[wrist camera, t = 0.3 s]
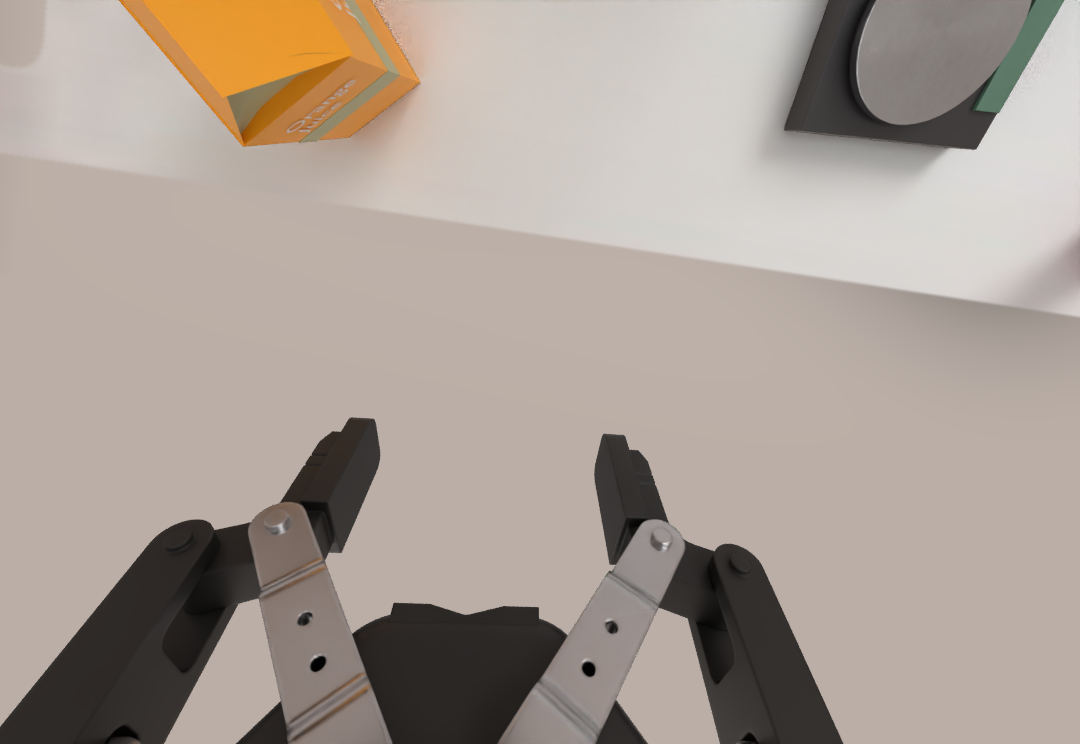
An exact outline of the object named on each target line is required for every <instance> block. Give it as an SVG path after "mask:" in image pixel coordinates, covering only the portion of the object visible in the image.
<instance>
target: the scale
mask: <svg viewBox="0 0 1080 744" xmlns="http://www.w3.org/2000/svg"><path fill="white" fill-rule="evenodd" d="M869 2H870V0H829V3H828V5H827V8H826V11H825V14H824V17H823V20H822V23H821V25H820V28H819V31H818V34H817V37H816V40H815V43H814V45H813V48H812V51H811V54H810V57H809V60H808V63H807V65H806V68H805V71H804V74H803V77H802V80H801V83H800V85H799V88H798V91H797V94H796V97H795V100H794V103H793V105H792V108H791V111H790V114H789V117H788V120H787V123H786V125H785V128H784V130H786V131H795V132H805V133H814V134H823V135H832V136H842V137H851V138H860V139H869V140H879V141H888V142H897V143H906V144H916V145H925V146H934V147H943V148H955V149H971V150H975V149H977V147H978V145H979V144H980V142H981V140H982V138H983V137H984V135H985V133H986V132H987V130H988V128H989V126H990V125H991V123H992V121H993V119H994V118H995V116H996V114H997V113H999V112H1000V110H1001V108H1002V107H1003V105H1004V103H1005V102H1006V100H1007V98H1008V96H1009V95H1010V93H1011V91H1012V90H1013V88H1014V86H1015V84H1016V83H1017V81H1018V79H1019V77H1020V76H1021V74H1022V72H1023V71H1024V69H1025V67H1026V65H1027V64H1028V62H1029V60H1030V59H1031V57H1032V55H1033V53H1034V52H1035V50H1036V48H1037V46H1038V45H1039V43H1040V41H1041V40H1042V38H1043V36H1044V34H1045V33H1046V31H1047V29H1048V28H1049V26H1050V24H1051V22H1052V21H1053V19H1054V17H1055V15H1056V14H1057V12H1058V10H1059V9H1060V7H1061V5H1062V3H1063V2H1064V0H1032V2H1031V5H1030V8H1029V12H1028V14H1027V17H1026V19H1025V22H1024V24H1023V27H1022V29H1021V31H1020V33H1019V35H1018V37H1017V39H1016V41H1015V42H1014V44H1013V46H1012V47H1011V49H1010V50H1009V52H1008V54H1007V55H1006V56H1005V58H1004V59H1003V61H1002V62H1001V64H1000V65H999V66H998V67H997V69H996V70H995V71H994V72H993V73H992V75H991V76H990V77H989V78H988V79H987V80H986V81H985V82H984V83H983V84H982V85H981V86H980V87H979V88H978V89H977V90H976V91H975V92H974V93H973V94H972V95H970V96H969V97H968V98H967V99H965V100H964V101H963V102H961V103H960V104H959V105H957V106H956V107H954V108H952V109H951V110H949V111H948V112H946V113H944V114H942V115H940V116H938V117H935V118H933V119H930V120H928V121H925V122H921V123H917V124H909V125H890V124H885V123H881V122H879V121H876V120H874V119H873V118H871V117H870V116H868V115H867V114H866V113H865V112H864V111H863V110H862V109H861V108H860V106H859V105H858V103H857V101H856V99H855V97H854V94H853V91H852V87H851V82H850V57H851V50H852V46H853V41H854V37H855V34H856V31H857V28H858V25H859V23H860V20H861V18H862V16H863V13H864V11H865V9H866V7H867V5H868V3H869Z"/></svg>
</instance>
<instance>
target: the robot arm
mask: <svg viewBox="0 0 1080 744" xmlns="http://www.w3.org/2000/svg"><path fill="white" fill-rule="evenodd" d="M379 461H380V447H379V441H378V434H377V428H376V422H375V420H374V419H368V418H350V419H349V420H348V421H347V423H346V425H345V426H344V428H343V430H342V431H341V432H334V431H333V432H331V433H330V434H329V435H327V436H326V437H325V438H324V439H322V440H321V441H320V442H319V443H318V445H317V446H316V448H315V449H314V451H313V453H312V456H310V457H309V459H308V460H307V462H306V465H305V466H303V468H302V469H301V471H300V473H299V474H298V476H297V477H296V479H295V480H294V482H293V483H292V485H291V486H290V488H289V490H288V491H287V493H286V494H285V496H284V497H283V499H282V500H281V502H280V503H278V504H276V505H272V506H270V507H268V508H266V509H265V510H263V511H262V512H260V513H259V514H258V515H257V516H256V517H255V518H254V519H253V520H252V522H250V523H246V524H242V525H237V526H232V527H228V528H223V529H219V530H214V528H213V527H212V525H211V524H210V523H209V522H207V521H204V520H188V521H184V522H181V523H178V524H176V525H173V526H171V527H169V528H168V529H166V530H164V531H163V532H161V533H160V534H159V535H158V536H156V537H155V538H154V539H153V540H152V541H151V542H150V544H149V545H148V546H147V547H146V548H145V550H144V551H143V552H142V553H141V555H140V556H139V557H138V558H137V559H136V561H135V562H134V563H133V564H132V566H131V567H130V568H129V569H128V571H127V572H126V573H125V574H124V575H123V577H122V578H121V579H120V580H119V582H118V583H117V584H116V585H115V587H114V588H113V589H112V590H111V591H110V593H109V594H108V595H107V596H106V598H105V599H104V600H103V601H102V603H101V604H100V605H99V606H98V607H97V609H96V610H95V611H94V612H93V614H92V615H91V616H90V617H89V619H88V620H87V621H86V622H85V623H84V625H83V626H82V627H81V628H80V629H79V631H78V632H77V633H76V635H75V636H74V637H73V638H72V639H71V641H70V642H69V643H68V644H67V645H66V647H65V648H64V649H63V650H62V652H61V653H60V654H59V655H58V657H57V658H56V659H55V660H54V661H53V663H52V664H51V665H50V666H49V668H48V669H47V670H46V671H45V672H44V674H43V675H42V676H41V677H40V679H39V680H38V681H37V682H36V683H35V685H34V686H33V687H32V688H31V690H30V691H29V692H28V693H27V695H26V696H25V697H24V698H23V699H22V701H21V702H20V703H19V704H18V706H17V707H16V708H15V709H14V711H13V712H12V713H11V714H10V715H9V717H8V718H7V719H6V720H5V722H4V723H3V724H2V725H1V727H0V744H164V742H165V741H166V738H167V737H168V735H169V733H170V731H171V729H172V727H173V726H174V724H175V722H176V720H177V718H178V716H179V714H180V712H181V711H182V709H183V707H184V705H185V703H186V701H187V699H188V697H189V696H190V694H191V692H192V690H193V688H194V686H195V684H196V682H197V681H198V678H199V677H200V675H201V673H202V671H203V669H204V667H205V665H206V664H207V662H208V660H209V658H210V656H211V654H212V652H213V651H214V648H215V647H216V645H217V643H218V641H219V639H220V637H221V636H222V634H223V632H224V630H225V628H226V626H227V624H228V622H229V621H230V619H231V617H232V615H233V613H234V611H235V609H236V607H237V606H238V604H239V603H242V602H246V601H250V600H254V599H257V598H259V602H260V607H261V612H262V616H263V621H264V625H265V630H266V634H267V639H268V644H269V648H270V652H271V658H272V662H273V667H274V671H275V676H276V681H277V685H278V690H279V694H280V699H281V701H280V702H279V703H278V704H277V705H276V706H275V707H274V708H273V709H272V710H271V711H270V712H269V713H268V714H267V715H266V716H265V717H264V718H262V720H261V721H259V722H258V723H257V724H256V725H255V726H254V727H253V728H252V729H251V730H250V731H249V732H248V733H247V734H246V735H245V736H244V737H243V738H241V740H239V742H237V743H236V744H648V743H647V742H646V741H645V739H644V738H643V736H642V735H641V734H640V732H639V731H638V730H637V728H636V727H635V725H634V724H633V723H632V721H631V720H630V718H629V717H628V716H627V714H626V713H625V712H624V710H623V709H622V707H621V706H620V705H619V703H618V702H617V701H616V698H617V696H618V694H619V691H620V689H621V687H622V685H623V683H624V681H625V679H626V676H627V674H628V672H629V670H630V668H631V666H632V663H633V661H634V659H635V657H636V655H637V653H638V651H639V649H640V646H641V644H642V642H643V640H644V638H645V636H646V634H647V631H648V629H649V627H650V625H651V623H652V621H653V618H654V616H655V614H656V612H657V610H658V608H662V609H664V610H667V611H670V612H672V613H675V614H678V615H680V616H683V617H685V618H688V621H689V625H690V629H691V633H692V637H693V640H694V644H695V648H696V652H697V656H698V659H699V664H700V668H701V671H702V675H703V679H704V683H705V687H706V690H707V695H708V699H709V702H710V706H711V710H712V714H713V718H714V722H715V725H716V729H717V733H718V737H719V741H720V744H843V742H842V740H841V738H840V735H839V733H838V731H837V729H836V727H835V724H834V722H833V720H832V718H831V716H830V713H829V711H828V709H827V707H826V705H825V702H824V700H823V698H822V696H821V694H820V692H819V689H818V687H817V685H816V683H815V680H814V678H813V676H812V674H811V672H810V670H809V667H808V665H807V663H806V661H805V659H804V656H803V654H802V652H801V650H800V648H799V645H798V643H797V641H796V639H795V637H794V634H793V633H792V630H791V628H790V626H789V623H788V621H787V619H786V617H785V615H784V613H783V611H782V608H781V606H780V604H779V602H778V599H777V597H776V595H775V593H774V591H773V588H772V586H771V584H770V582H769V580H768V577H767V575H766V573H765V571H764V569H763V567H762V565H761V563H760V562H759V560H758V559H757V558H756V557H755V556H754V555H753V554H752V553H750V552H749V551H748V550H746V549H744V548H742V547H740V546H737V545H734V544H723V545H720V546H719V547H718V548H717V549H716V550H715V551H711V550H709V549H706V548H703V547H700V546H697V545H694V544H692V543H689V542H687V541H686V540H684V539H683V537H682V535H681V534H680V532H679V531H677V529H676V528H675V527H673V526H672V525H670V524H669V522H668V520H667V517H666V514H665V511H664V508H663V505H662V502H661V499H660V496H659V493H658V490H657V487H656V486H655V482H654V479H653V476H652V475H651V474H652V473H651V470H650V467H649V464H648V461H647V460H646V459H645V458H644V457H643V455H642V454H641V453H640V452H639V451H638V450H629V447H628V444H627V441H626V438H625V436H624V435H613V434H603V436H602V439H601V443H600V447H599V451H598V455H597V459H596V463H595V473H594V476H595V485H596V490H597V496H598V501H599V507H600V513H601V518H602V524H603V529H604V535H605V541H606V547H607V551H608V557H609V563H610V565H616V566H615V567H614V569H613V570H612V571H609V572H608V573H607V574H606V576H605V578H604V579H603V580H602V582H601V584H600V585H599V587H598V588H597V590H596V592H595V594H594V595H593V596H592V598H591V600H590V601H589V603H588V604H587V606H586V608H585V609H584V611H583V612H582V614H581V616H580V617H579V619H578V620H577V622H576V624H575V625H574V627H573V628H572V630H571V631H570V633H569V635H567V634H566V633H564V632H563V631H562V630H561V629H559V628H558V627H556V626H555V625H553V624H551V623H549V622H547V621H544V620H541V619H539V608H538V607H510V606H509V607H508V606H503V607H499V608H495V609H490V610H486V611H482V612H478V613H474V614H470V615H463V614H460V613H456V612H453V611H450V610H447V609H444V608H441V607H438V606H434V605H432V604H413V603H394V604H393V608H392V611H391V615H388V616H384V617H381V618H379V619H376V620H374V621H372V622H370V623H368V624H366V625H364V626H363V627H361V628H360V629H358V630H356V631H355V632H354V633H353V634H351V631H350V628H349V625H348V623H347V620H346V617H345V615H344V612H343V609H342V606H341V604H340V601H339V598H338V595H337V593H336V590H335V587H334V584H333V582H332V579H331V576H330V574H329V571H328V568H327V566H326V563H325V559H326V557H327V555H328V553H330V552H331V553H341V552H342V550H343V548H344V546H345V543H346V541H347V539H348V536H349V534H350V532H351V529H352V527H353V525H354V523H355V520H356V518H357V516H358V513H359V511H360V509H361V506H362V504H363V502H364V499H365V497H366V495H367V492H368V490H369V487H370V485H371V483H372V481H373V478H374V476H375V474H376V471H377V469H378V466H379Z"/></svg>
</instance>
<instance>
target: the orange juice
mask: <svg viewBox="0 0 1080 744" xmlns="http://www.w3.org/2000/svg"><path fill="white" fill-rule="evenodd" d="M119 1H120V2H121V4H122V5H123V6H124V7H125V8H126V9H127V11H128V12H129V13H130V14H131V15H132V16H133V18H134V19H135V20H136V21H137V22H138V24H139V25H140V26H141V27H142V28H143V29H144V31H145V32H146V33H147V34H148V35H149V36H150V38H151V39H152V40H153V41H154V42H155V44H156V45H157V46H158V47H159V48H160V49H161V51H162V52H163V53H164V54H165V55H166V56H167V58H168V59H169V60H170V61H171V62H172V64H173V65H174V66H175V67H176V68H177V69H178V71H179V72H180V73H181V74H182V75H183V76H184V78H185V79H186V80H187V81H188V82H189V84H190V85H191V86H192V87H193V88H194V89H195V91H196V92H197V93H198V94H199V95H200V96H201V98H202V99H203V100H204V101H205V102H206V104H207V105H208V106H209V107H210V108H211V109H212V111H213V112H214V113H215V114H216V115H217V116H218V118H219V119H220V120H221V121H222V122H223V124H224V125H225V126H226V127H227V128H228V129H229V131H230V132H231V133H232V134H233V135H234V136H235V138H236V139H237V140H238V141H239V142H240V143H241V145H242V146H243V147H245V146H256V145H268V144H279V143H291V142H299V143H302V142H313V141H318V140H325V139H337V138H348V137H350V136H352V135H353V134H354V133H355V132H357V131H358V130H359V129H361V128H362V127H363V126H365V125H366V124H367V123H368V122H370V121H371V120H372V119H374V118H375V117H376V116H378V115H379V114H380V113H381V112H383V111H384V110H385V109H387V108H388V107H389V106H391V105H392V104H393V103H394V102H396V101H397V100H398V99H400V98H401V97H402V96H404V95H405V94H406V93H407V92H409V91H410V90H411V89H413V88H414V87H415V86H416V85H418V84H419V83H420V81H419V79H418V77H417V76H416V74H415V72H414V71H413V69H412V67H411V66H410V64H409V62H408V61H407V59H406V57H405V55H404V54H403V52H402V50H401V49H400V47H399V45H398V44H397V42H396V40H395V39H394V37H393V35H392V34H391V32H390V30H389V29H388V27H387V25H386V24H385V22H384V20H383V19H382V17H381V15H380V14H379V12H378V10H377V9H376V7H375V5H374V4H373V2H372V0H119Z"/></svg>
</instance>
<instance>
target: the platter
mask: <svg viewBox="0 0 1080 744" xmlns="http://www.w3.org/2000/svg"><path fill="white" fill-rule="evenodd" d="M1031 2H1032V0H870V2H869V3H868V5H867V7H866V9H865V11H864V13H863V16H862V18H861V20H860V23H859V25H858V28H857V31H856V34H855V37H854V41H853V46H852V50H851V57H850V82H851V87H852V91H853V94H854V97H855V99H856V101H857V103H858V105H859V106H860V108H861V109H862V110H863V111H864V112H865V113H866V114H867V115H868V116H870V117H871V118H873V119H874V120H876V121H879V122H881V123H885V124H890V125H909V124H917V123H921V122H925V121H928V120H930V119H933V118H935V117H938V116H940V115H942V114H944V113H946V112H948V111H949V110H951V109H952V108H954V107H956V106H957V105H959V104H960V103H961V102H963V101H964V100H965V99H967V98H968V97H969V96H970V95H972V94H973V93H974V92H975V91H976V90H977V89H978V88H979V87H980V86H981V85H982V84H983V83H984V82H985V81H986V80H987V79H988V78H989V77H990V76H991V75H992V73H993V72H994V71H995V70H996V69H997V67H998V66H999V65H1000V64H1001V62H1002V61H1003V59H1004V58H1005V56H1006V55H1007V54H1008V52H1009V50H1010V49H1011V47H1012V46H1013V44H1014V42H1015V41H1016V39H1017V37H1018V35H1019V33H1020V31H1021V29H1022V27H1023V24H1024V22H1025V19H1026V17H1027V14H1028V12H1029V8H1030V5H1031Z"/></svg>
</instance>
